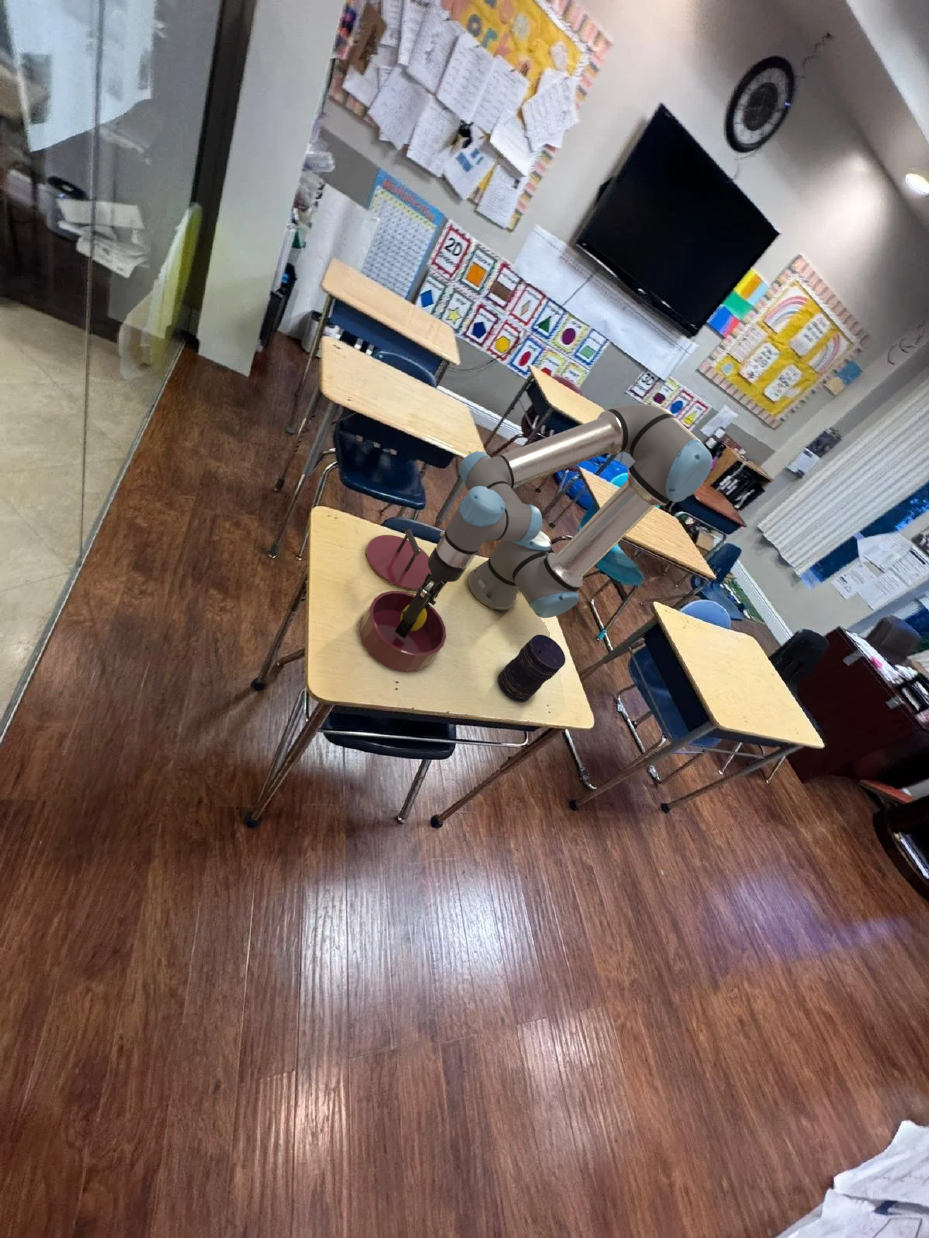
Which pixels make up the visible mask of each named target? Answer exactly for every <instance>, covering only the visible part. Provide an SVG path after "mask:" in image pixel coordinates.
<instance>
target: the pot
mask: <svg viewBox="0 0 929 1238" xmlns="http://www.w3.org/2000/svg"><path fill="white" fill-rule="evenodd" d="M415 595H416V594H413V593H410V592H407V591H403V590H389V591H385V592H382V593H380V594H378V595H376V597H374V598H373V600H372V602H371V603H370V606H369V607H368V609H367V611H366V613H365V614H364V616H363V618H362V620H361V622H360V626H359V634H360V639H361V642H362V644H363V646H364V648H365V649H366V651H367V652H368V653H369V655H370V656H371V657H372V658H373V659H374V660H375V661H377V662H378V663H379V664H381V665H382V666H385V668H389V669H391V670H394V671H397V672H403V673H415V672H419V671H421V670H423V669H425V668H426V667H427V666H429V665H430V664H431V662H433V660H434V659H435V658H436V656H437V655H438V654H439V652H440V651H441V649H443V647H444V645H445V642H446V639H447V629H446V625H445V623H444V621H443V619H442V616H441V615H440V614H439V613H438V611H437V610H436V609H435V608H434V606H433V605H432V604H430V603H429V605H430V607H429V608H428V610H427V611H426V613H427V617H426V620H425V623H424V624H423V626H422V627H421V628H420V629H418V630H416V631H410V632H409V633H408V635H407V636H406V638H405V639H404V638H403V637H401V636H400V635H399V634H397V633H396V632H395V630H396V629H397V627H398V626H399V624H400V616H401V613H402V611H403V610H404V609H405V607H407V606H408V605H409V604H410V603H411V602H412V600H413V599H414V597H415Z"/></svg>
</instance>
